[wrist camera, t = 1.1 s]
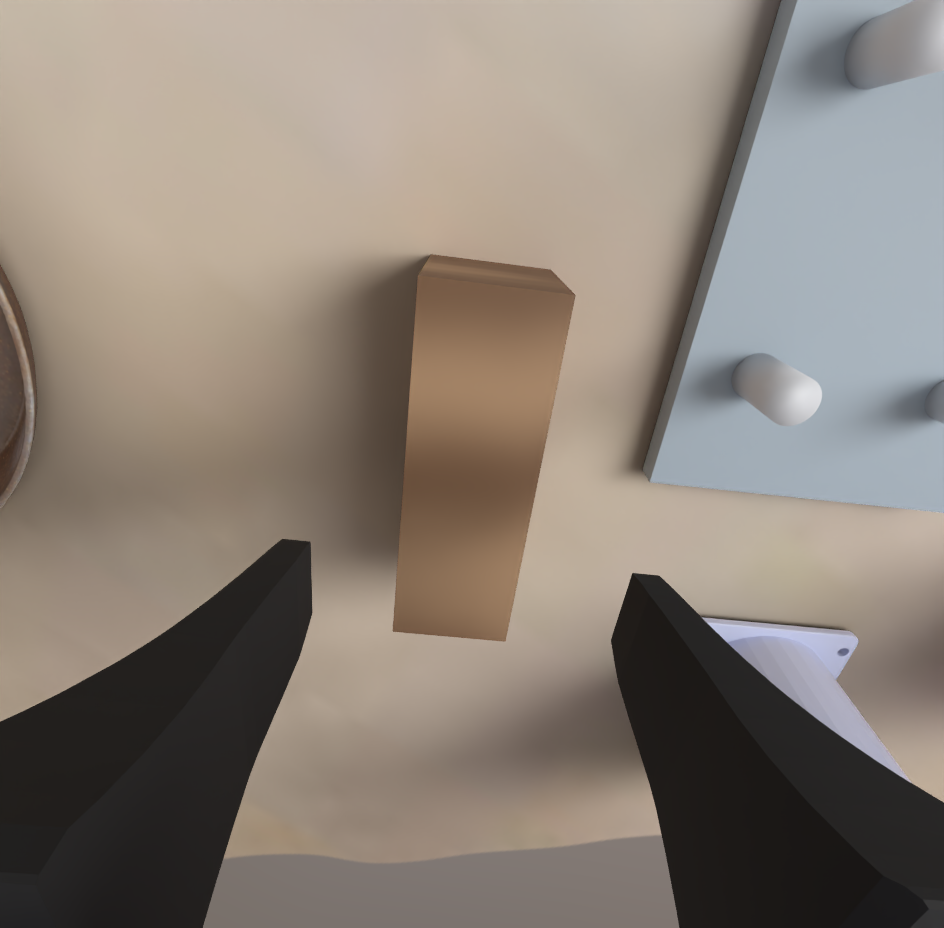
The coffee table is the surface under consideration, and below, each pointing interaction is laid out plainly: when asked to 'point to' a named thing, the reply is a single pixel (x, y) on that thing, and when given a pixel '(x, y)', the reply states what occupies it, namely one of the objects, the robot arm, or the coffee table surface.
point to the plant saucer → (14, 391)
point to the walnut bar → (475, 440)
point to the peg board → (824, 274)
